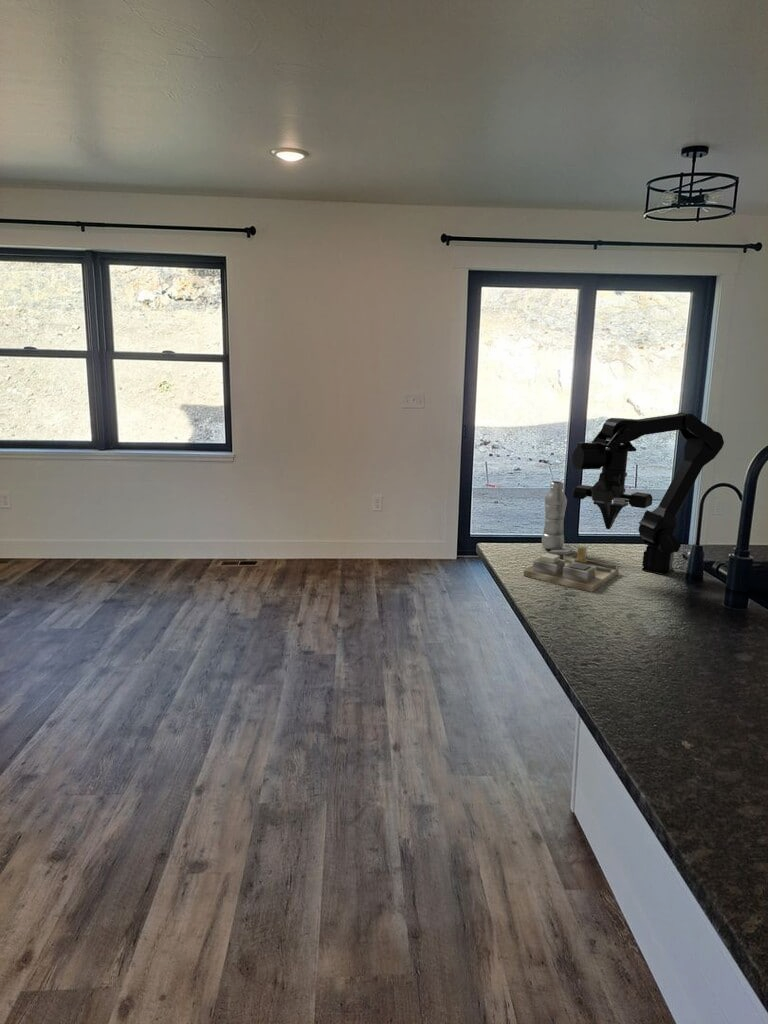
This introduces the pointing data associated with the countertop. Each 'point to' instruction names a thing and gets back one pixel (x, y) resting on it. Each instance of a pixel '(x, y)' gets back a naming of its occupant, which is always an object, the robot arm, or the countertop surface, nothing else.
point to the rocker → (560, 552)
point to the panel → (573, 573)
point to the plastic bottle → (554, 517)
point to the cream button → (549, 558)
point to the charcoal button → (580, 567)
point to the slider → (581, 555)
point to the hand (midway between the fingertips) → (608, 528)
